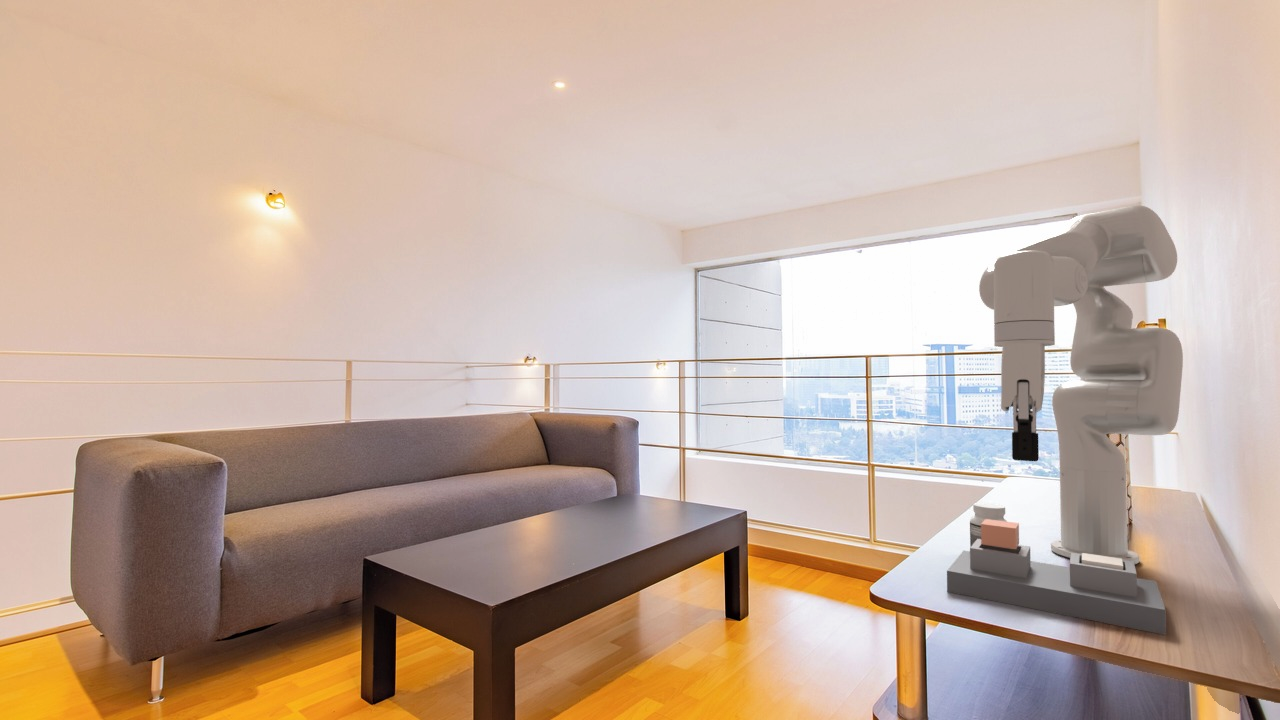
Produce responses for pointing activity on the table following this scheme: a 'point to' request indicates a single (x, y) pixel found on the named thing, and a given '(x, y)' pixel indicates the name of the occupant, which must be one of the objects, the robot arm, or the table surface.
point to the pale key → (1102, 561)
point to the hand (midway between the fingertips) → (1025, 460)
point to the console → (1059, 586)
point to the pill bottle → (981, 514)
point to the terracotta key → (1000, 533)
